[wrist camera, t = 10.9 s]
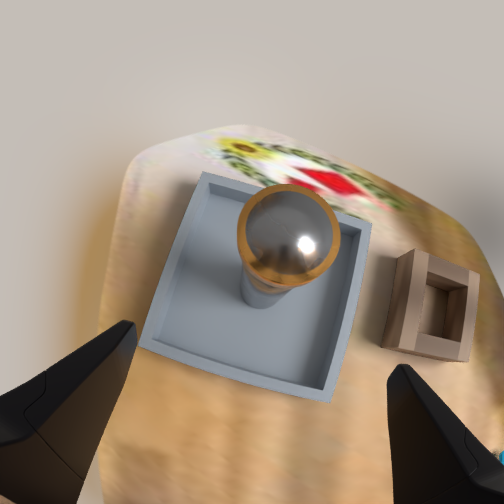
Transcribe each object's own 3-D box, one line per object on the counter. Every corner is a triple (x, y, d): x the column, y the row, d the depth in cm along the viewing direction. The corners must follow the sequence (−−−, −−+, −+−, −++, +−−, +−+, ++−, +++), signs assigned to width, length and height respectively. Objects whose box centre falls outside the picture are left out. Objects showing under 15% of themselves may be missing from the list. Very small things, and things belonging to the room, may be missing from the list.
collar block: (448, 361, 22) (468, 362, 19) (380, 347, 22) (398, 347, 20) (460, 281, 24) (479, 274, 22) (397, 257, 25) (414, 248, 22)
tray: (320, 397, 21) (330, 403, 19) (147, 345, 22) (137, 345, 19) (360, 233, 25) (372, 223, 23) (205, 186, 26) (202, 171, 23)
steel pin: (291, 305, 23) (353, 268, 11) (242, 318, 22) (251, 295, 10) (278, 258, 24) (321, 177, 12) (230, 269, 23) (226, 194, 11)
